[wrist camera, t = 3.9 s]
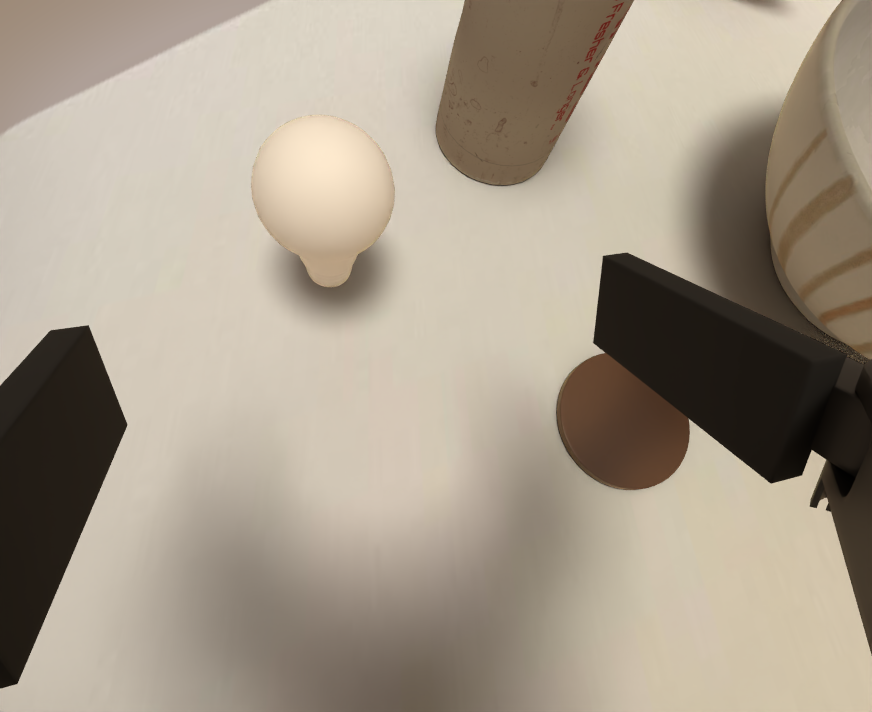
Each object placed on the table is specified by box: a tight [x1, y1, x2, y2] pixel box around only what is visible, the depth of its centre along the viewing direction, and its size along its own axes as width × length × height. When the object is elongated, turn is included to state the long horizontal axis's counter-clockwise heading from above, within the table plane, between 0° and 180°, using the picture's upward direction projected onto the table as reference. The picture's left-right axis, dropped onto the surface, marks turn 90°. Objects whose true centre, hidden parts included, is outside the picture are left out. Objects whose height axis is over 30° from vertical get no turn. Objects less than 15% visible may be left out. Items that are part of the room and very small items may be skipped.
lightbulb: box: [251, 115, 395, 287], centre depth 25 cm, size 6×6×11 cm
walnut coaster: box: [557, 353, 690, 490], centre depth 30 cm, size 8×8×1 cm
